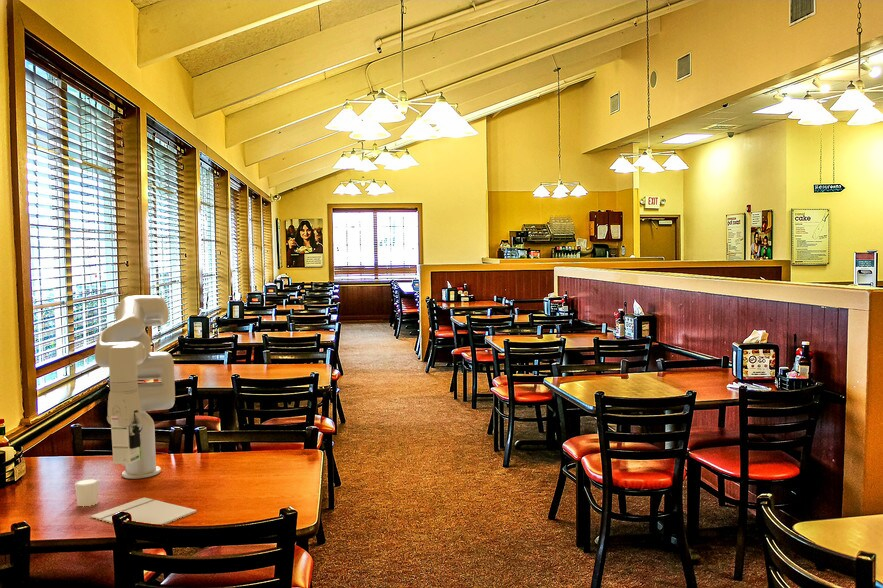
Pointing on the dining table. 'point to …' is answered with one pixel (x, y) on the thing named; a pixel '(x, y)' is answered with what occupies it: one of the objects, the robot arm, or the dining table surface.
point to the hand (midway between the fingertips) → (126, 445)
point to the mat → (147, 511)
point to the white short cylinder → (87, 492)
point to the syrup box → (123, 444)
